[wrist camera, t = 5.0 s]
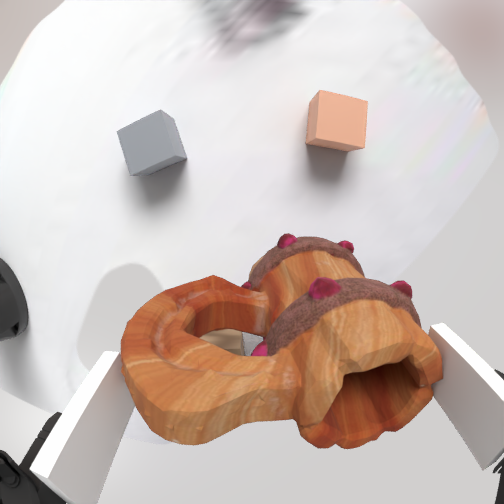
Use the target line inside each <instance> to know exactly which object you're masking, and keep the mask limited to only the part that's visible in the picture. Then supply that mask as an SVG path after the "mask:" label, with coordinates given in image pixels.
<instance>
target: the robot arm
mask: <svg viewBox="0 0 504 504" xmlns="http://www.w3.org/2000/svg"><path fill="white" fill-rule="evenodd" d="M27 322H28V311H27V305H26V301H25V297H24V294H23V291H22V289H21V286H20V284H19V282H18V280H17V278H16V276H15V275H14V273H13V271H12V270H11V268H10V267H9V266H8V265H7V264H6V263H5V262H4V261H3V260H2V259H1V258H0V341H3V340H7V339H11V338H14V337H16V336H18V335H19V334H20V333H21V332H23V331H24V330H25V328H26V326H27ZM428 336H429V337H430V338H431V339H432V341H433V342H434V343H435V345H436V346H437V347H438V349H439V351H440V354H441V357H442V370H443V379H442V380H440V381H438V382H435V383H433V384H432V385H431V388H432V390H433V392H434V393H433V396H434V398H435V399H436V400H437V402H438V403H439V405H440V406H441V408H442V409H443V410H444V412H445V413H446V414H447V416H448V418H449V419H450V420H451V422H452V423H453V425H454V426H455V428H456V429H457V431H458V432H459V434H460V435H461V437H462V438H463V440H464V441H465V443H466V445H467V446H468V448H469V449H470V451H471V452H472V454H473V455H474V457H475V459H476V460H477V462H478V464H479V465H480V467H481V468H482V470H484V469H486V468H487V467H489V466H490V465H492V464H493V463H494V462H496V461H497V460H498V458H499V457H500V456H501V455H502V454H503V453H504V374H503V373H501V372H499V371H497V370H493V369H492V368H491V367H490V366H489V365H488V364H487V363H486V362H485V361H484V360H483V359H482V358H481V357H479V356H478V354H477V353H475V352H474V351H473V350H472V349H471V348H470V347H469V346H468V345H467V344H466V343H465V342H464V341H463V340H462V339H460V338H459V337H458V336H457V335H456V334H455V333H454V332H453V331H452V330H450V329H449V328H448V327H447V326H446V325H445V324H444V323H440V324H436V325H432V326H430V330H429V334H428ZM121 369H122V362H121V354H120V352H110V351H104V353H103V354H102V356H101V357H100V358H99V360H98V361H97V363H96V364H95V366H94V367H93V368H92V370H91V371H90V373H89V374H88V376H87V377H86V378H85V380H84V381H83V383H82V384H81V386H80V387H79V389H78V390H77V392H76V393H75V395H74V396H73V398H72V399H71V401H70V402H69V404H68V406H67V407H66V409H65V410H64V412H63V413H60V412H57V413H55V414H54V415H53V416H52V417H50V418H49V419H48V420H47V422H46V423H45V425H44V426H43V428H42V431H40V433H39V434H38V438H36V439H35V441H34V442H33V444H32V446H31V447H30V449H29V451H28V452H27V454H26V456H25V457H24V459H23V461H22V463H21V464H20V465H19V466H18V465H17V464H16V463H15V462H14V460H12V458H11V457H10V456H9V455H8V454H7V453H6V452H4V451H2V450H0V504H66V503H68V504H97V503H98V500H99V497H100V494H101V491H102V488H103V486H104V483H105V480H106V477H107V475H108V472H109V470H110V467H111V464H112V461H113V458H114V456H115V454H116V451H117V449H118V446H119V443H120V441H121V438H122V436H123V434H124V431H125V429H126V426H127V424H128V421H129V419H130V417H131V414H132V412H133V409H134V407H135V404H134V401H133V399H132V397H131V394H130V392H129V389H128V387H127V385H126V383H125V377H124V376H123V374H122V373H121ZM501 466H502V468H501V469H500V470H499V471H498V473H501V475H500V481H499V487H498V492H497V497H496V501H495V504H504V458H503V459H502V460H501V461H500V462H499V463H498V465H497V466H496V467H495V468H494V470H493V473H495V472H496V471H497V470H498V469H499V468H500V467H501Z"/></svg>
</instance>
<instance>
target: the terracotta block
mask: <svg viewBox="0 0 504 504" xmlns="http://www.w3.org/2000/svg"><path fill="white" fill-rule="evenodd" d="M367 104H368V101H365V100H361V99H357V98H353V97H349V96H345V95H341V94H337V93H332V92H327V91H323V90H319V91H318V93H317V94H316V95H315V96H314V98H313V99H312V100H311V101H310V103H309V114H308V125H307V135H306V144H309V145H315V146H321V147H327V148H332V149H337V150H342V151H347V152H349V151H353V150H358V149H362V148H365V137H366V123H367Z"/></svg>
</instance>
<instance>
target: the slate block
mask: <svg viewBox="0 0 504 504" xmlns="http://www.w3.org/2000/svg"><path fill="white" fill-rule="evenodd" d="M117 134H118V137H119V140H120V144H121V147H122V150H123V154H124V157H125V160H126V163H127V166H128V169H129V172H130V175H131V176H139V175H150V174H152V173H154V172H156V171H159V170H161V169H163V168H166V167H168V166H170V165H173V164H175V163H177V162H180V161H182V160H185V159H187V156H186V153H185V150H184V147H183V144H182V141H181V138H180V135H179V132H178V130H177V127H176V124H175V121H174V119H173V118H172V117H170V116H169V115H168V114H166V113H165V112H163V111H162V110H159V111H157V112H154V113H152V114H150V115H148V116H146V117H144V118H142V119H140V120H138V121H136V122H134V123H132V124H130V125H128V126H126V127H124V128H122V129H120V130H119V131H117Z"/></svg>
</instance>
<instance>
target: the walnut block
mask: <svg viewBox="0 0 504 504" xmlns="http://www.w3.org/2000/svg"><path fill="white" fill-rule="evenodd" d="M200 339H203V340H205V341H208V342H210V343H212V344H214V345H216V346H218V347H220V348H222V349H224V350H226V351H229V352H231V353H233V354H237V355H241V356H245V355H244V346H243V336H242V332H241V331H237V330H234V329H225V330H219V331H212V332H209V333H207V334H205V335H203V336H202V337H200Z"/></svg>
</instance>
